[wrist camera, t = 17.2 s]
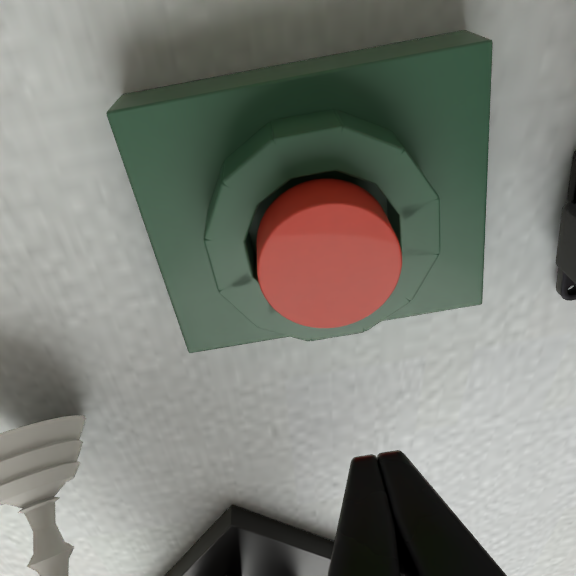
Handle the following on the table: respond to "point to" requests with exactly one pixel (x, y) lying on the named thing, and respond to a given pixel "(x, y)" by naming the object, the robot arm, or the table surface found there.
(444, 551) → the robot arm
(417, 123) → the button box
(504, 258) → the table surface
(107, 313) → the table surface
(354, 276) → the button
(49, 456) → the chalice
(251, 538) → the bracket
